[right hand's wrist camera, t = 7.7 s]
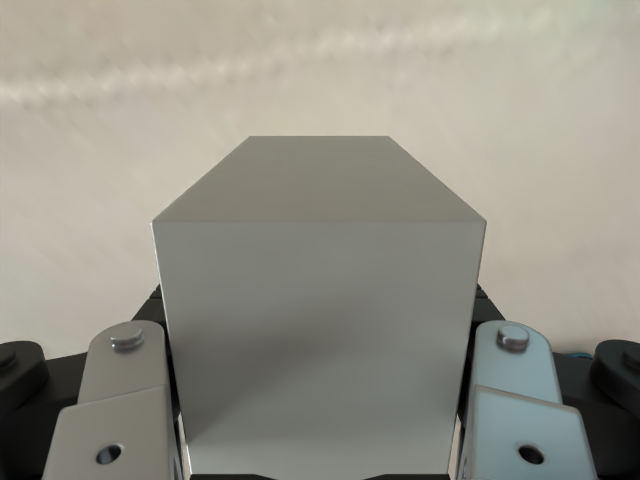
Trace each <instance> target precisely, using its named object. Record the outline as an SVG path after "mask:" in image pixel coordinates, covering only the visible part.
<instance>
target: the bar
mask: <svg viewBox="0 0 640 480" xmlns="http://www.w3.org/2000/svg"><path fill="white" fill-rule="evenodd" d="M486 224H487V222H486V220H485V219H484V218H483V217H482V216H481V215H479V214H478V213H477V212H476V211H475V210H474V209H472V208H471V207H470V206H469V205H468V204H467V203H465V202H464V201H463V200H462V199H461V198H460V197H459V196H457V195H456V194H455V193H454V192H453V191H452V190H450V189H449V188H448V187H447V186H446V185H445V184H443V183H442V182H441V181H440V180H439V179H438V178H436V177H435V176H434V175H433V174H432V173H431V172H430V171H428V170H427V169H426V168H425V167H424V166H423V165H421V164H420V163H419V162H418V161H417V160H416V159H414V158H413V157H412V156H411V155H410V154H409V153H408V152H406V151H405V150H404V149H403V148H402V147H401V146H399V145H398V144H397V143H396V142H395V141H394V140H392V139H391V138H390V137H389V136H249V137H248V138H247V139H246V140H245V141H243V142H242V143H241V144H240V145H239V146H238V147H236V148H235V149H234V150H233V151H232V152H231V153H229V154H228V155H227V156H226V157H225V158H224V159H222V160H221V161H220V162H219V163H218V164H217V165H215V166H214V167H213V168H212V169H211V170H210V171H209V172H207V173H206V174H205V175H204V176H203V177H202V178H200V179H199V180H198V181H197V182H196V183H195V184H193V185H192V186H191V187H190V188H189V189H188V190H186V191H185V192H184V193H183V194H182V195H181V196H179V197H178V198H177V199H176V200H175V201H174V202H173V203H171V204H170V205H169V206H168V207H167V208H166V209H164V210H163V211H162V212H161V213H160V214H159V215H157V216H156V217H155V218H154V219H153V220H152V221H151V230H152V236H153V242H154V248H155V254H156V261H157V267H158V273H159V279H160V285H161V292H162V298H163V304H164V310H165V316H166V323H167V329H168V335H169V341H170V347H171V354H172V360H173V366H174V372H175V378H176V385H177V391H178V397H179V403H180V409H181V416H182V422H183V428H184V434H185V440H186V447H187V453H188V459H189V465H190V471H191V474H257V475H261V476H265V477H269V478H273V479H277V480H363V479H367V478H371V477H375V476H379V475H383V474H448V468H449V461H450V455H451V449H452V442H453V436H454V429H455V423H456V417H457V410H458V404H459V397H460V391H461V384H462V378H463V372H464V365H465V359H466V352H467V346H468V340H469V333H470V327H471V320H472V314H473V308H474V301H475V295H476V288H477V282H478V276H479V269H480V263H481V256H482V250H483V243H484V237H485V231H486Z"/></svg>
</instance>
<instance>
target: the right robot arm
mask: <svg viewBox="0 0 640 480" xmlns="http://www.w3.org/2000/svg"><path fill="white" fill-rule="evenodd" d="M180 412H181V409H180V403H179V397H178V391H177V385H176V378H175V372H174V366H173V360H172V354H171V347H170V341H169V335H168V329H167V323H166V316H165V310H164V304H163V298H162V292H161V285H160V284H159V285H158V286H157V288H156V291H154V292H153V293H152V294H151V295H150V297H149V299H147V301H146V302H145V303H144V305H143V306H142V307H141V308H140V310H139V311H138V312H137V314H136V315H135V316H134V318H133V319H132V320H131V321H128V322H124V323H120V324H117V325H114V326H112V327H110V328H108V329H106V330H104V331H102V332H101V333H99V334H98V335H97V336H96V337H95V338H94V339H93V340H92V341H91V343H90V345H89V349H88V352H85V353H81V354H77V355H72V356H66V357H61V358H56V359H51V360H45V357H44V353H43V350H42V348H41V346H40V345H39V344H37V343H35V342H31V341H13V342H7V343H3V344H0V480H185V472H184V462H183V451H182V441H181V432H180V426H179V420H178V417H179V414H180ZM457 414H458V416H459V419H460V421H461V426H460V432H459V441H458V451H457V461H456V472H455V480H640V343H636V342H631V341H626V340H607V341H603V342H601V343H599V344H598V345H597V347H596V350H595V354H594V357H593V360H590V359H584V358H579V357H574V356H569V355H563V354H558V353H554V352H552V349H551V345H550V343H549V341H548V340H547V339H546V338H545V337H544V336H543V335H542V334H541V333H539V332H538V331H536V330H534V329H532V328H530V327H528V326H526V325H523V324H520V323H516V322H512V321H506V320H505V318H504V317H503V316H502V314H501V313H500V312H499V311H498V309H497V308H496V307H495V305H494V304H493V303H492V301H491V300H490V299H488V296H487V295H486V293H485V292H484V291H483V290H481V287H480V286H479V284H478V283H477V288H476V295H475V301H474V308H473V314H472V320H471V327H470V333H469V340H468V346H467V352H466V359H465V365H464V372H463V378H462V384H461V391H460V397H459V404H458V410H457ZM190 480H277V479H273V478H269V477H265V476H261V475H257V474H191V477H190ZM363 480H450V477H449V474H383V475H379V476H375V477H371V478H367V479H363Z"/></svg>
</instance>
